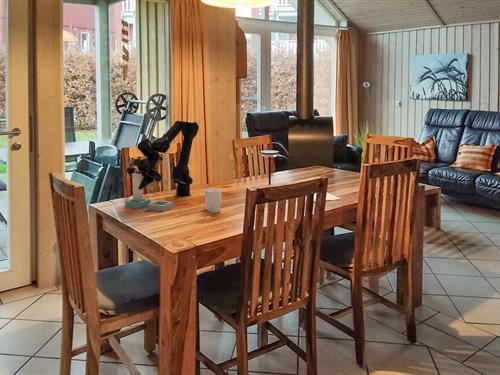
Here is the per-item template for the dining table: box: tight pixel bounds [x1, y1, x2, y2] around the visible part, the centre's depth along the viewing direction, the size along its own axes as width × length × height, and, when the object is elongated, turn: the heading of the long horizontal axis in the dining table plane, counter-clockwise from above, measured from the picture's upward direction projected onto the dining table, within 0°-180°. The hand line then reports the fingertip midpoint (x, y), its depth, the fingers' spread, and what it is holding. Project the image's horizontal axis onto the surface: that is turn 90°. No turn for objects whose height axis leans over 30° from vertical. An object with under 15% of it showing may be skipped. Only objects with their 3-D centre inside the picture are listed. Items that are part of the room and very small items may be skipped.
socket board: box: [123, 198, 175, 213], centre depth 245 cm, size 22×11×4 cm, turn 66°
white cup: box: [204, 187, 223, 214], centre depth 241 cm, size 8×8×10 cm
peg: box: [131, 173, 144, 202], centre depth 246 cm, size 4×4×14 cm
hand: (135, 188), depth 245 cm, fingers closed on peg, 4 cm apart
